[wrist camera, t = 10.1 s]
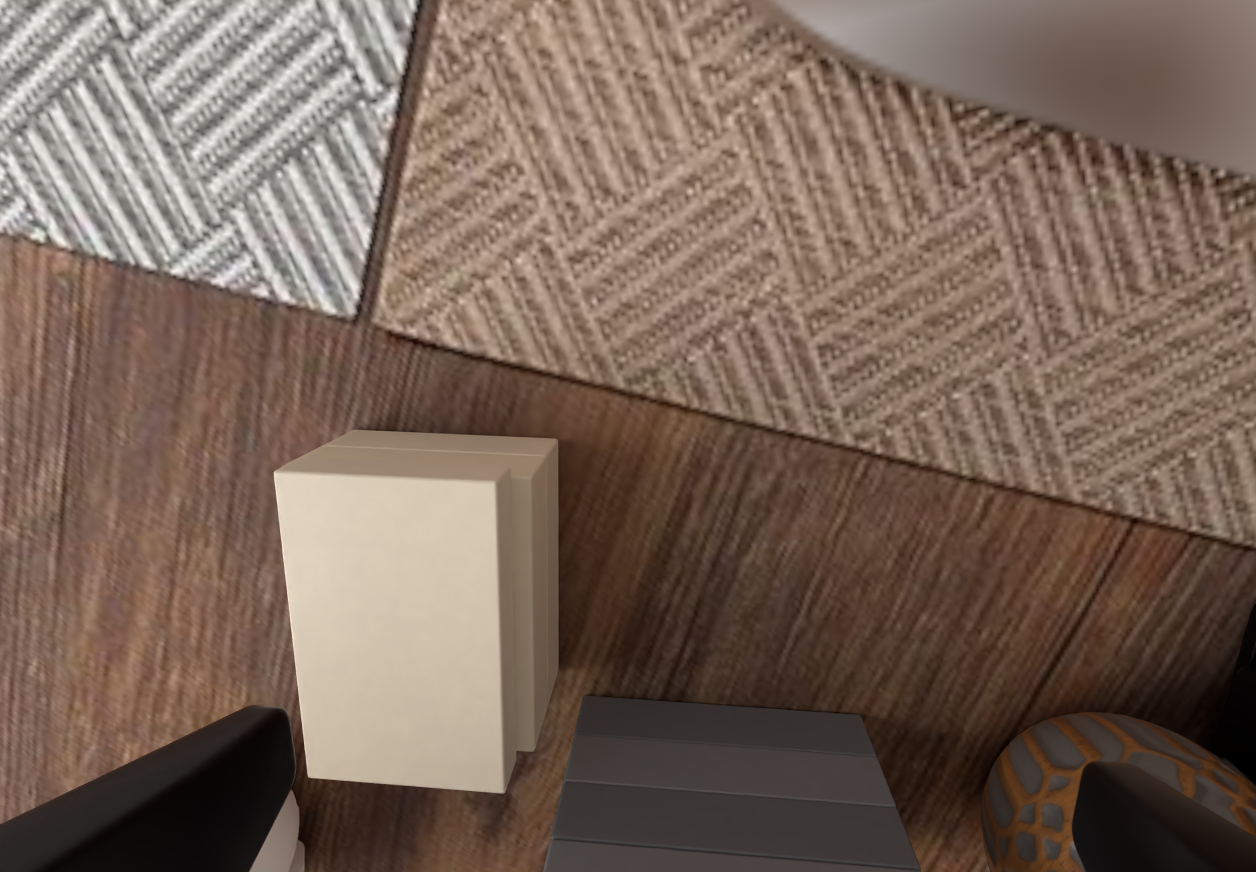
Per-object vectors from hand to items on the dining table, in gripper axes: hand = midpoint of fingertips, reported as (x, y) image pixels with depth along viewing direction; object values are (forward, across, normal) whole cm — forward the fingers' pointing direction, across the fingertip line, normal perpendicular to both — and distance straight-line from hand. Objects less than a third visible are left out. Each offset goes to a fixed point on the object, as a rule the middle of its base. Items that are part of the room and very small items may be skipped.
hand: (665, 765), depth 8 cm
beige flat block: (+8, +6, +3) cm, 11 cm away
